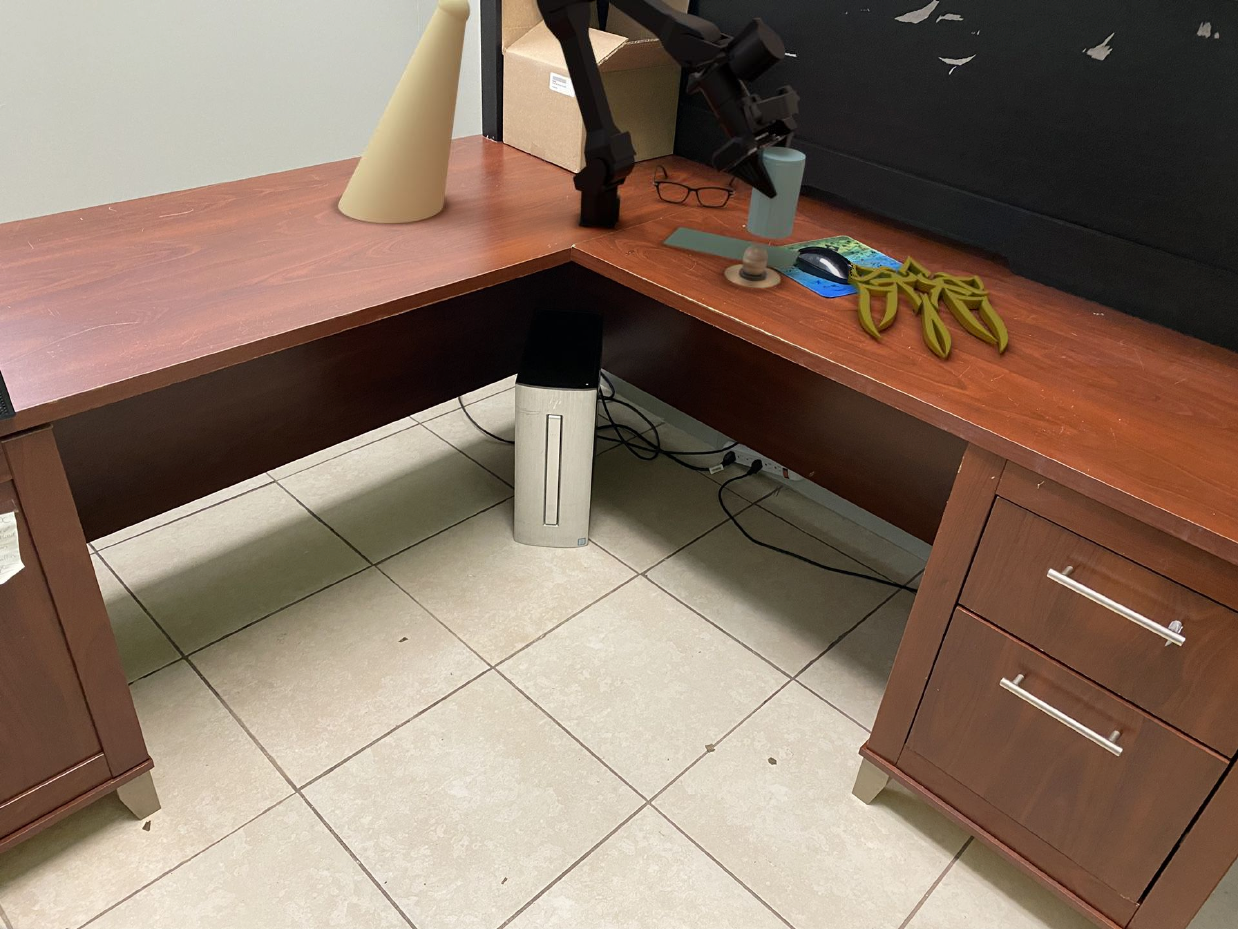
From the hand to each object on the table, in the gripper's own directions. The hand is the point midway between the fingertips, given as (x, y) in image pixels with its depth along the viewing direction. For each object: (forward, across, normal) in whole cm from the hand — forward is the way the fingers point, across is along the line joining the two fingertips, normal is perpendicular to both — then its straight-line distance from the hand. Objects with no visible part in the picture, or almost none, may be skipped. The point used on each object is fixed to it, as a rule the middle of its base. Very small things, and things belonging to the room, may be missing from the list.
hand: (784, 191), depth 133 cm
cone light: (-35, -17, +54) cm, 67 cm away
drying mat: (+3, +4, +16) cm, 17 cm away
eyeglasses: (-10, +26, +30) cm, 41 cm away
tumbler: (+4, 0, +6) cm, 7 cm away
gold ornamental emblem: (+27, +4, -8) cm, 28 cm away
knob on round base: (+9, -4, +10) cm, 14 cm away
